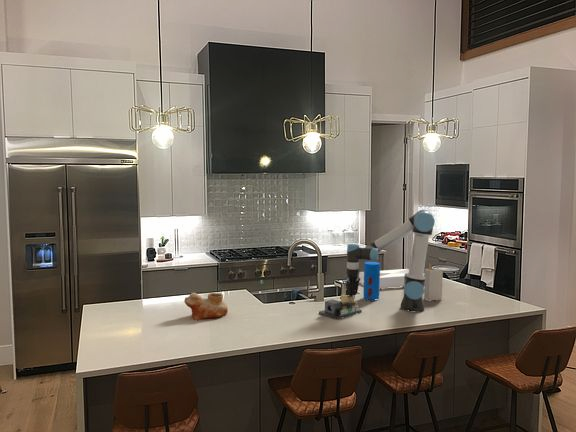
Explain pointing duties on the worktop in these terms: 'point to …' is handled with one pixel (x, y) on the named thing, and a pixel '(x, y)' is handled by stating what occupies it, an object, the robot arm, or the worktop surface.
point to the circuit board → (338, 310)
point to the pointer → (349, 305)
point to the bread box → (389, 278)
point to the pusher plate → (347, 299)
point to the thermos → (371, 280)
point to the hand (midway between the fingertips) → (351, 304)
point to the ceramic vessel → (206, 306)
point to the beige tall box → (433, 283)
